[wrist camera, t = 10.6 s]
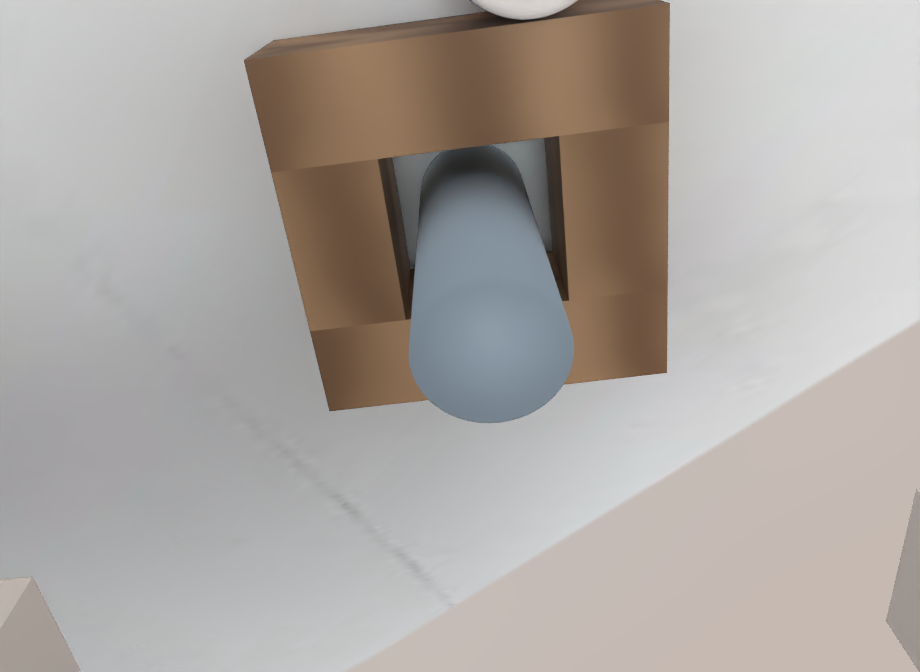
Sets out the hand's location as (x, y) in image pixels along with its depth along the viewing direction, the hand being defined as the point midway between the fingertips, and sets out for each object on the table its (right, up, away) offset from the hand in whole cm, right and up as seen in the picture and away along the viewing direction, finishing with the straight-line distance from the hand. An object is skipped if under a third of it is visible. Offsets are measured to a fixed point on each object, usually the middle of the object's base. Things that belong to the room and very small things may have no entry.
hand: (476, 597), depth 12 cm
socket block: (0, +10, +21) cm, 23 cm away
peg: (0, +10, +21) cm, 23 cm away
